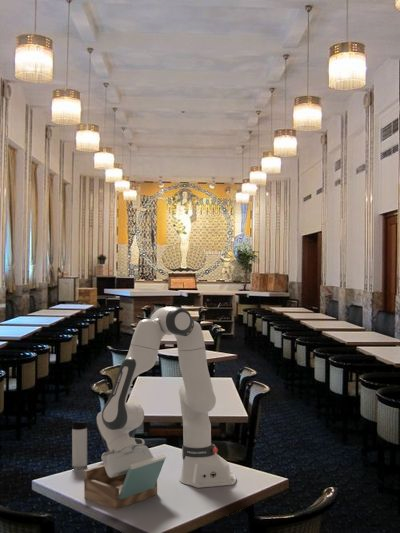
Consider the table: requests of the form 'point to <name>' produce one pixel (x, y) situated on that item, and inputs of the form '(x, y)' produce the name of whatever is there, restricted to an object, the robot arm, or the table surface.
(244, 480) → the table surface
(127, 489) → the teal flat panel
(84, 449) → the travel mug
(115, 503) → the wooden drawer
